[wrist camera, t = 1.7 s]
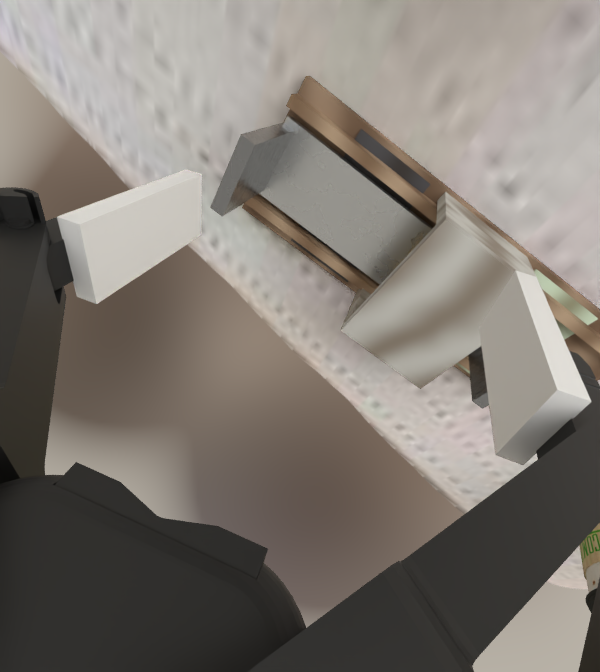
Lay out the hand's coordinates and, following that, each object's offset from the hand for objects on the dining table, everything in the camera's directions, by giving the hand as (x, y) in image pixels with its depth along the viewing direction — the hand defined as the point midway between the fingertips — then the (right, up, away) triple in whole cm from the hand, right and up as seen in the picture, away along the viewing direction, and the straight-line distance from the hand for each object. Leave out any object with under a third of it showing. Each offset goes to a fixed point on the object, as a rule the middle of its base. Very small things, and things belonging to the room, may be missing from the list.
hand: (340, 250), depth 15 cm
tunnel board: (+13, +3, +24) cm, 27 cm away
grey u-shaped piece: (+7, +6, +22) cm, 24 cm away
